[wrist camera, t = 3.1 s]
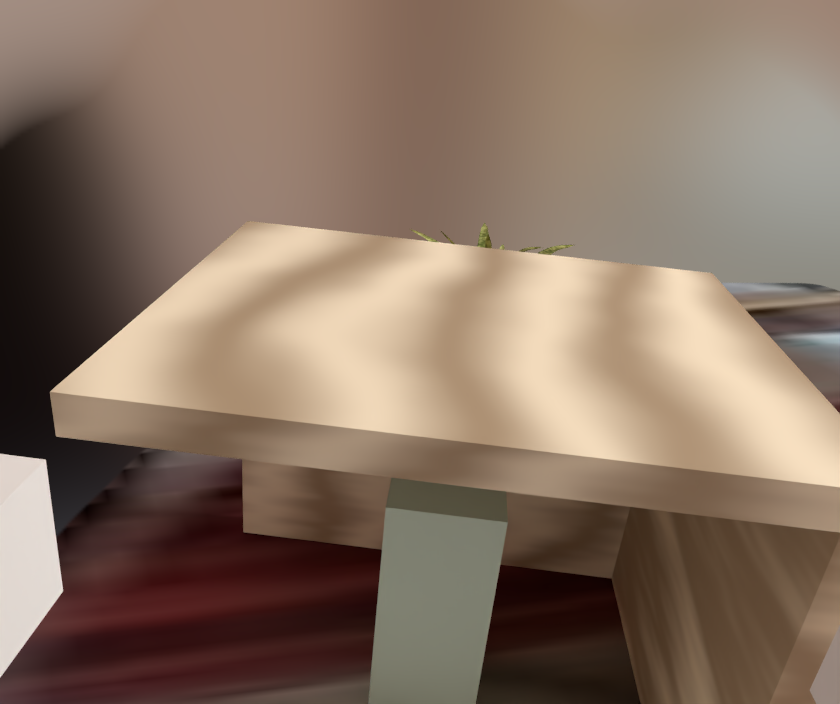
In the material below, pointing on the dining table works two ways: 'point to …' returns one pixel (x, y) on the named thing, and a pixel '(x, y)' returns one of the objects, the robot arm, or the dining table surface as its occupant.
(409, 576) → the tall block
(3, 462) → the robot arm
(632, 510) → the cubby box
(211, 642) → the dining table surface
